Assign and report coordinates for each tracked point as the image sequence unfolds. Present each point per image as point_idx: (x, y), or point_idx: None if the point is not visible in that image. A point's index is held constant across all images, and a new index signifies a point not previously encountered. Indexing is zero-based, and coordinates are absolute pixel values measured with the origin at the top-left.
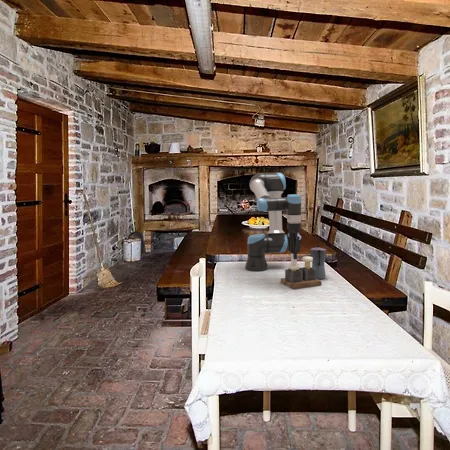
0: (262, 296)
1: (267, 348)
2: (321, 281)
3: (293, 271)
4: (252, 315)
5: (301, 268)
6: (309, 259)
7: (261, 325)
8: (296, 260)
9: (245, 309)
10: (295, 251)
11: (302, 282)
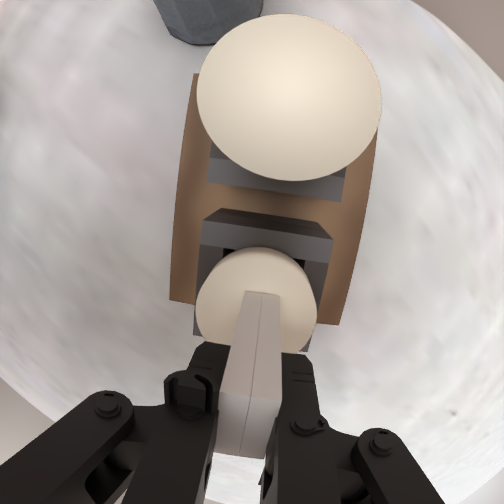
0: None
1: (478, 480)
2: None
3: None
4: None
5: (242, 176)
6: (372, 130)
7: (439, 482)
8: (279, 326)
9: None
10: (356, 499)
11: (334, 240)
